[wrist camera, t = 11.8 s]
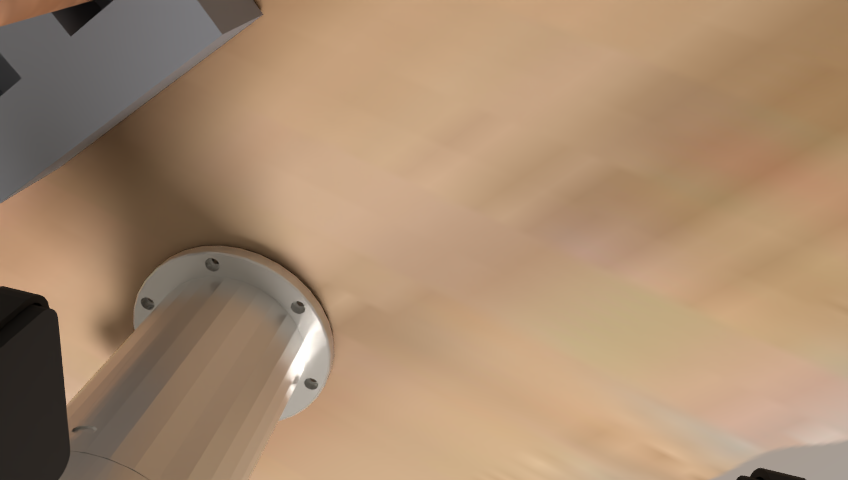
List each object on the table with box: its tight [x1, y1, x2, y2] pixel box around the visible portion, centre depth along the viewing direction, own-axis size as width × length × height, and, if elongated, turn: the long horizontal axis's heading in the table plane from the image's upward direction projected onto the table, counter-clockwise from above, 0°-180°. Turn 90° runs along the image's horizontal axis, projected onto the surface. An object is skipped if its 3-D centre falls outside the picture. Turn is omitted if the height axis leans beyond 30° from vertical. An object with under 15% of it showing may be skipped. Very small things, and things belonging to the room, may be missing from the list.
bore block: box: [0, 0, 263, 203], centre depth 35 cm, size 16×12×5 cm
